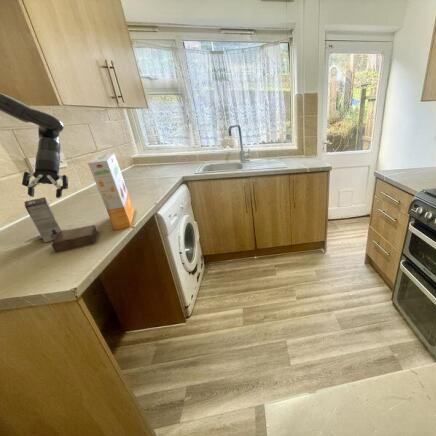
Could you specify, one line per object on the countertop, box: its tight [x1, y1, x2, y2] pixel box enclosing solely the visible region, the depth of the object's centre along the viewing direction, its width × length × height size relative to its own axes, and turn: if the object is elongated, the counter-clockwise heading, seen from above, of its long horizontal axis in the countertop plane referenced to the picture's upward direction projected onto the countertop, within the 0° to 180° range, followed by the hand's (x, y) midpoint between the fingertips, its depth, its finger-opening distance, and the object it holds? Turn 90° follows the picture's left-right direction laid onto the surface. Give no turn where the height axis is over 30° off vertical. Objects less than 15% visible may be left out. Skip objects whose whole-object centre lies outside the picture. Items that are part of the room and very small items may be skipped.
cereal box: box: [87, 152, 135, 230], centre depth 112 cm, size 22×6×30 cm, turn 27°
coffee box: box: [23, 196, 63, 243], centre depth 100 cm, size 9×6×16 cm
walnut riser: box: [51, 224, 99, 254], centre depth 98 cm, size 12×12×4 cm
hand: (44, 197), depth 107 cm, fingers open, 8 cm apart
